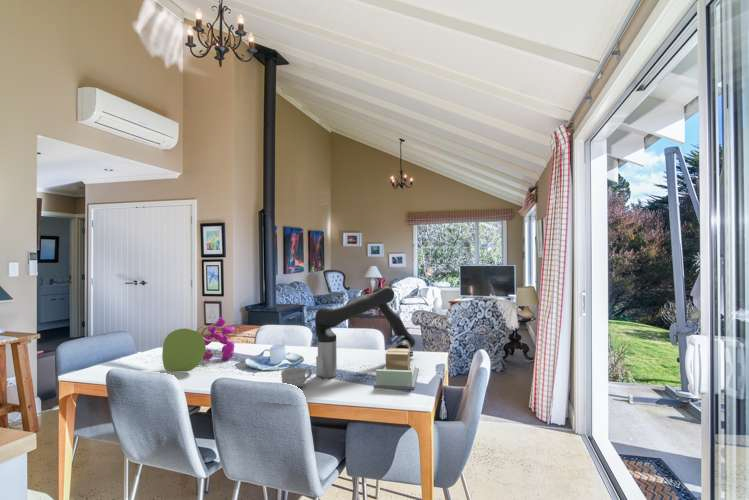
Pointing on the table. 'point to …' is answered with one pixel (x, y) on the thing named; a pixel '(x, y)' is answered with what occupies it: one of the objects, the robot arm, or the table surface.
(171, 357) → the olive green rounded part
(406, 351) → the wood grain cube
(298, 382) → the teacup
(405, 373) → the roller track
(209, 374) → the table surface
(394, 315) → the robot arm
